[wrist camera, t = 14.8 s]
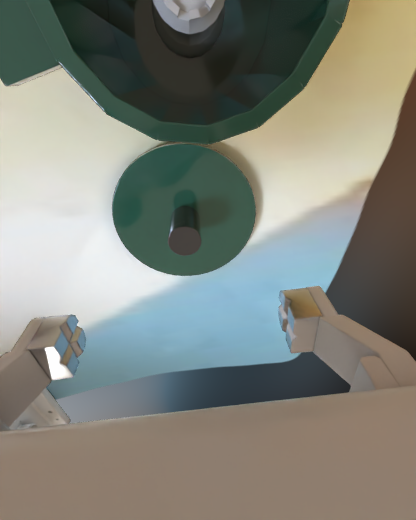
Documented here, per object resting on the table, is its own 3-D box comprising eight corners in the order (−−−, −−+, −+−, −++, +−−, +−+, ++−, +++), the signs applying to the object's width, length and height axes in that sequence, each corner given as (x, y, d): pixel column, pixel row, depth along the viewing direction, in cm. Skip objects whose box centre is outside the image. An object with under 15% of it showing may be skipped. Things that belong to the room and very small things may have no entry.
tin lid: (264, 249, 28) (278, 280, 24) (150, 282, 30) (143, 317, 25) (234, 118, 21) (246, 128, 17) (87, 169, 23) (63, 191, 18)
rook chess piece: (222, 59, 19) (240, 50, 12) (156, 57, 19) (137, 47, 12) (225, -34, 16) (251, -110, 10) (149, -38, 16) (121, -117, 9)
